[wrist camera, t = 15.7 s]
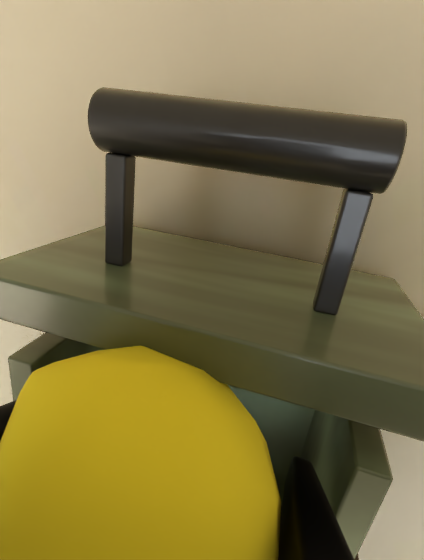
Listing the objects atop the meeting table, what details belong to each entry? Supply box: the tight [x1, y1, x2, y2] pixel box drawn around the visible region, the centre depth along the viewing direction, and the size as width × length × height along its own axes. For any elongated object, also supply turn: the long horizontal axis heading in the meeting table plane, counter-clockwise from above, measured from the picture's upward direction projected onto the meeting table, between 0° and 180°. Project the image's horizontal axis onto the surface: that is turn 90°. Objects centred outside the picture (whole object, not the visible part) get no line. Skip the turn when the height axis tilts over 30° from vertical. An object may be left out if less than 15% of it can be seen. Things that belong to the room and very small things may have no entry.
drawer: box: [0, 88, 424, 559], centre depth 11 cm, size 17×11×7 cm
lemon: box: [0, 346, 281, 560], centre depth 7 cm, size 7×5×5 cm
